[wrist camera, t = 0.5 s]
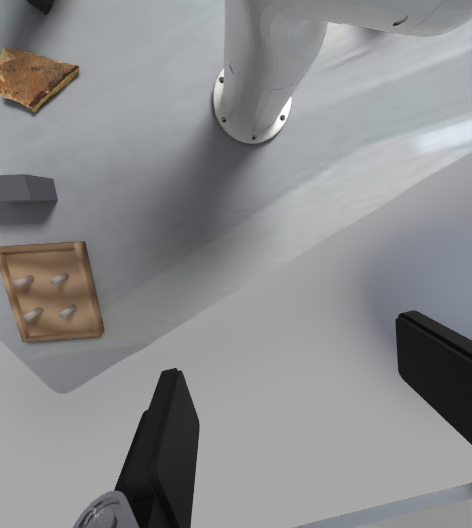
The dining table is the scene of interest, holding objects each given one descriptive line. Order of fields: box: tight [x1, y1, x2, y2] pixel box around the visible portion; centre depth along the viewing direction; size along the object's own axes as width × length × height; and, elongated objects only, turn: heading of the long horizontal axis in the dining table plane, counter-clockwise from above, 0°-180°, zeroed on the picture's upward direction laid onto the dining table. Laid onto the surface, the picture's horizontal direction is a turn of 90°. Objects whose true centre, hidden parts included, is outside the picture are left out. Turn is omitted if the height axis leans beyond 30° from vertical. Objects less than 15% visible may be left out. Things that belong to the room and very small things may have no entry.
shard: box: [0, 48, 79, 112], centre depth 35 cm, size 11×8×2 cm
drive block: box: [0, 174, 58, 203], centre depth 36 cm, size 4×8×6 cm, turn 93°
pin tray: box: [0, 241, 104, 343], centre depth 42 cm, size 18×14×4 cm
